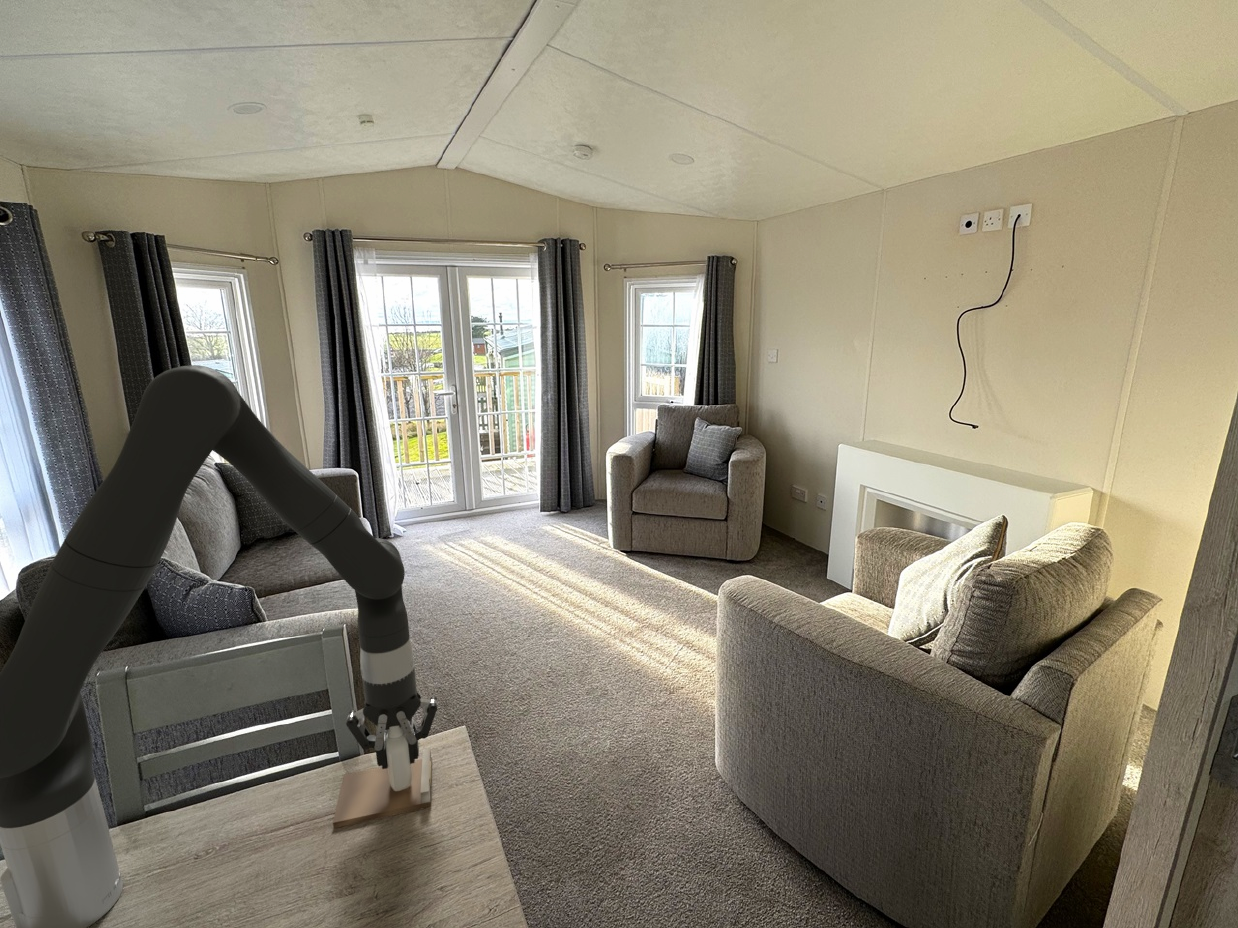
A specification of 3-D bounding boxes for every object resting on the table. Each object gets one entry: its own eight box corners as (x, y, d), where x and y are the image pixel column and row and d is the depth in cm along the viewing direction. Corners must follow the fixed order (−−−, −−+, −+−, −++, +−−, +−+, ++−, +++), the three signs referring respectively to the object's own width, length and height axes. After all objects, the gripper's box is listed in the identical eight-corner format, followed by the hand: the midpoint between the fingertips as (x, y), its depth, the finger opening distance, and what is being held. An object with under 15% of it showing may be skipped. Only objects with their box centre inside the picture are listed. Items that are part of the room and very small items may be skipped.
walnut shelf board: (333, 828, 89) (331, 811, 88) (344, 779, 98) (342, 764, 97) (431, 806, 92) (429, 790, 92) (432, 761, 102) (431, 747, 101)
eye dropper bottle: (379, 792, 92) (372, 726, 90) (394, 765, 98) (388, 702, 95) (406, 793, 92) (400, 727, 89) (420, 766, 98) (414, 703, 95)
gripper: (436, 647, 96) (444, 738, 100) (342, 661, 92) (354, 755, 96) (436, 673, 89) (444, 770, 93) (333, 689, 85) (347, 789, 89)
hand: (398, 762), depth 94 cm, fingers closed on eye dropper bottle, 3 cm apart
